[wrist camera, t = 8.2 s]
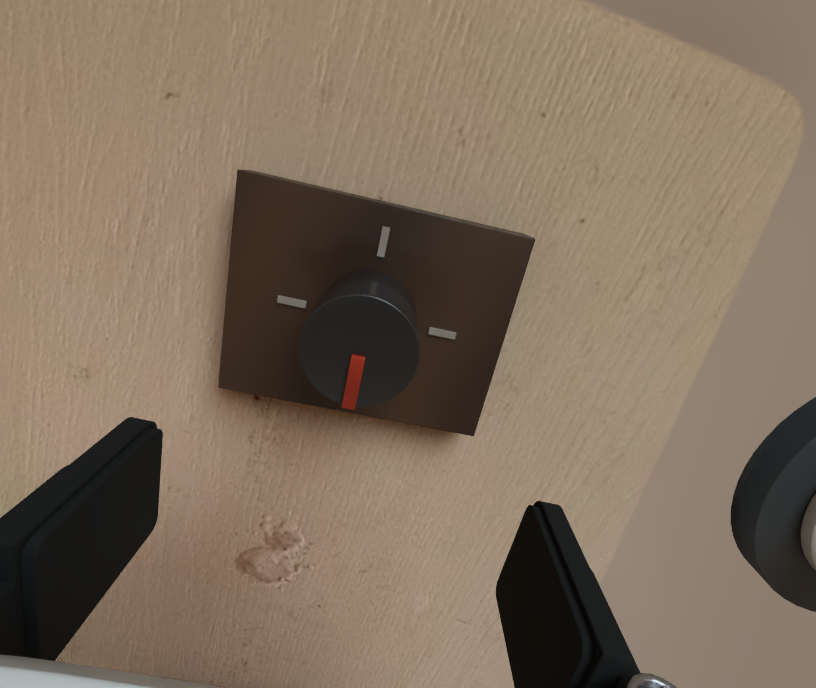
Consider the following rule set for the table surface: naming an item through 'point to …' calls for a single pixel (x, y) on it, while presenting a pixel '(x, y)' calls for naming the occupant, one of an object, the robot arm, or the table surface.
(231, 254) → the dimmer panel
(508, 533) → the table surface
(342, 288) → the dimmer knob
